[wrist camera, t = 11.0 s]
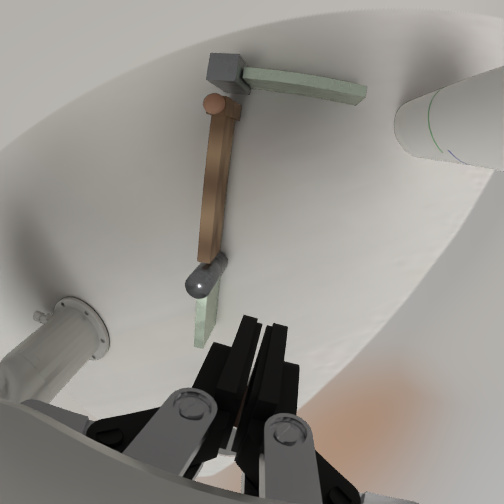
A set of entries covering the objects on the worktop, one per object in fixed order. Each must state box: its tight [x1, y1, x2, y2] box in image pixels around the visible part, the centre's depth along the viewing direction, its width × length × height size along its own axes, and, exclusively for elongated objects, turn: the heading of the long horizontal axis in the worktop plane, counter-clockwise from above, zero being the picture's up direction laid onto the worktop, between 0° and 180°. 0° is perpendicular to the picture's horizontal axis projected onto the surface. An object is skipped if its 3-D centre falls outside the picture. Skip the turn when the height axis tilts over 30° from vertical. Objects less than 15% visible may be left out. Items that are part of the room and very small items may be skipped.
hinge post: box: [185, 251, 228, 349], centre depth 38 cm, size 3×11×8 cm, turn 172°
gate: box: [197, 93, 241, 264], centre depth 32 cm, size 17×2×9 cm, turn 172°
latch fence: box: [206, 53, 367, 106], centre depth 28 cm, size 15×3×8 cm, turn 82°
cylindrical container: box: [394, 66, 504, 171], centre depth 19 cm, size 7×7×25 cm
